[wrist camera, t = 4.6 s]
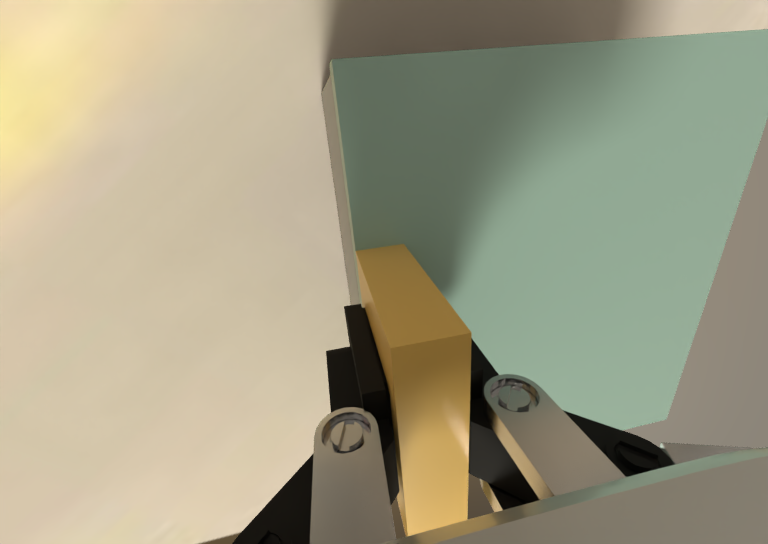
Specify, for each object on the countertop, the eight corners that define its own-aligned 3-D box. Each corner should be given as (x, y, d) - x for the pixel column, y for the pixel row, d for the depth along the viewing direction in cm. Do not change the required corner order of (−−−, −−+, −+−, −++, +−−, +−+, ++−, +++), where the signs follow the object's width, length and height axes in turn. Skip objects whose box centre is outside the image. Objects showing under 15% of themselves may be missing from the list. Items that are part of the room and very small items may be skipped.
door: (327, 69, 10) (358, -6, 4) (726, 40, 12) (1159, -40, 6) (377, 450, 17) (418, 645, 11) (632, 390, 19) (793, 525, 13)
